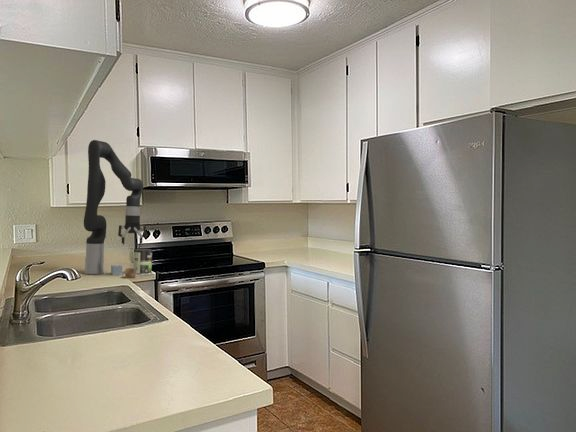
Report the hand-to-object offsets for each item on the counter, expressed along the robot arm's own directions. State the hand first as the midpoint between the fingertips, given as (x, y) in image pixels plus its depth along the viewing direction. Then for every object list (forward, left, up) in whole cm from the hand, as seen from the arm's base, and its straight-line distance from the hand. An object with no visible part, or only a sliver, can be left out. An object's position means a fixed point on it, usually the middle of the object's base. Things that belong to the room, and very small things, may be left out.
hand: (132, 244), depth 235 cm
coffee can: (+6, +13, -18) cm, 23 cm away
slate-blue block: (-8, +13, -18) cm, 24 cm away
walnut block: (0, 0, -18) cm, 18 cm away
